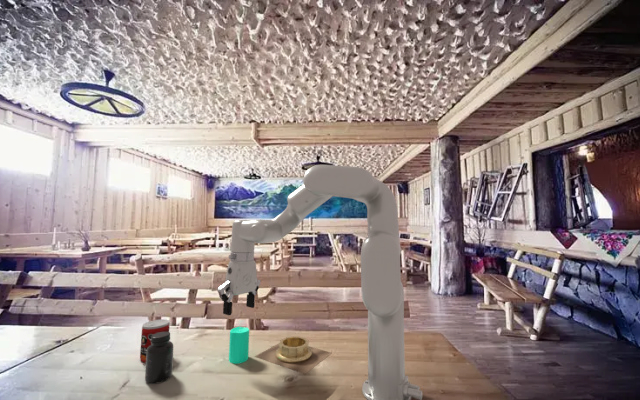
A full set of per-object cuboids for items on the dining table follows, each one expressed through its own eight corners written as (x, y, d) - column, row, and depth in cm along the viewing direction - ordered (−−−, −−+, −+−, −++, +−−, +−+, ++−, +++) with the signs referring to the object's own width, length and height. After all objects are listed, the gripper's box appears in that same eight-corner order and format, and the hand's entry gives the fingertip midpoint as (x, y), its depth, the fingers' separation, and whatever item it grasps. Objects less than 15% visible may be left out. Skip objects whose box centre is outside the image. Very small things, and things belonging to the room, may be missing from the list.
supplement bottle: (166, 369, 84) (168, 328, 85) (176, 377, 79) (178, 333, 81) (140, 378, 78) (143, 334, 80) (149, 387, 74) (153, 341, 75)
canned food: (134, 359, 90) (137, 324, 91) (158, 350, 97) (160, 317, 98) (148, 365, 86) (151, 328, 87) (172, 355, 93) (174, 321, 94)
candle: (242, 369, 84) (244, 328, 85) (224, 367, 85) (226, 327, 86) (251, 360, 90) (252, 322, 91) (234, 358, 91) (236, 321, 92)
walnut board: (331, 357, 92) (332, 352, 93) (305, 379, 79) (305, 373, 79) (285, 344, 103) (285, 339, 103) (254, 361, 89) (254, 356, 89)
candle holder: (318, 352, 93) (318, 339, 93) (297, 367, 83) (298, 353, 83) (290, 344, 99) (290, 332, 100) (267, 357, 89) (268, 344, 89)
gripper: (229, 260, 82) (225, 320, 80) (268, 256, 96) (266, 306, 95) (212, 258, 86) (208, 315, 84) (253, 254, 100) (250, 302, 99)
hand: (239, 310), depth 89 cm, fingers open, 9 cm apart
